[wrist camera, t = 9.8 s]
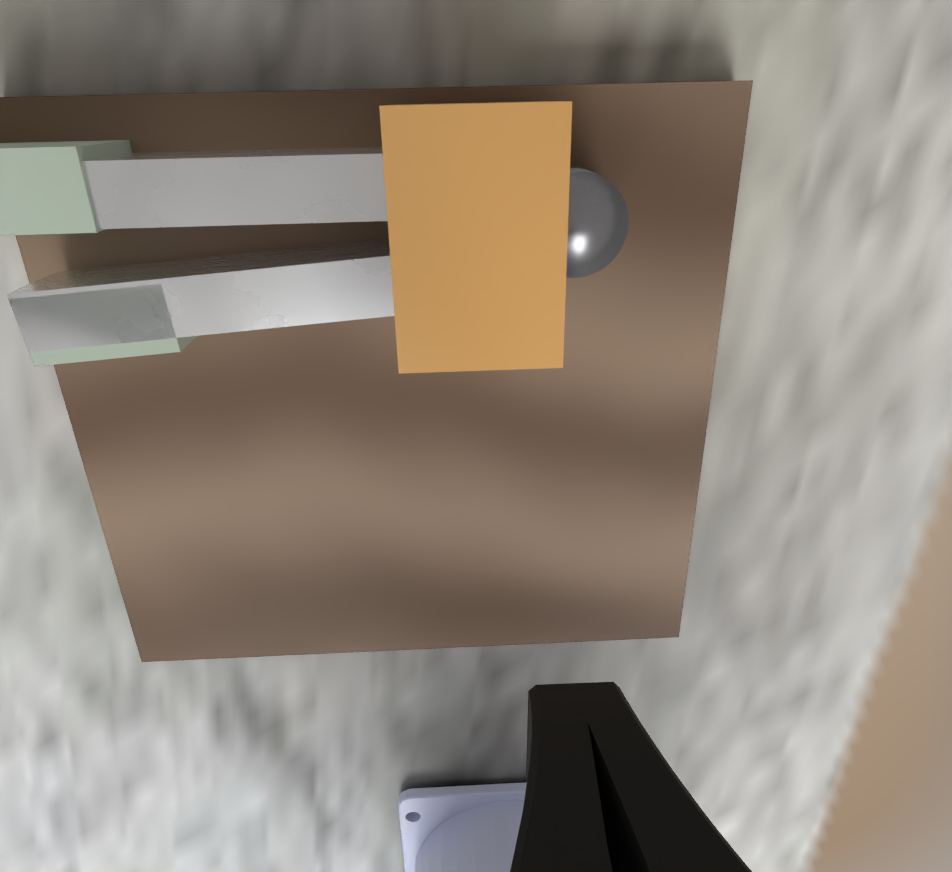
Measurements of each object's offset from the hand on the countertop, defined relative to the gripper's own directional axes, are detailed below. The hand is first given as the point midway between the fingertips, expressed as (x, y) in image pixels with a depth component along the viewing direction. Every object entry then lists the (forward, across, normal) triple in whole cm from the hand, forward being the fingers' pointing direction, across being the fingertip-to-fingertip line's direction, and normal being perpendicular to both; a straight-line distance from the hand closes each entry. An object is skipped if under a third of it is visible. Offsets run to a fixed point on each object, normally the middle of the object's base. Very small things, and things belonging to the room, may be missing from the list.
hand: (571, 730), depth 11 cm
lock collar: (+8, +1, -7) cm, 11 cm away
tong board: (+9, +3, -2) cm, 10 cm away
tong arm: (+8, +5, -5) cm, 11 cm away
